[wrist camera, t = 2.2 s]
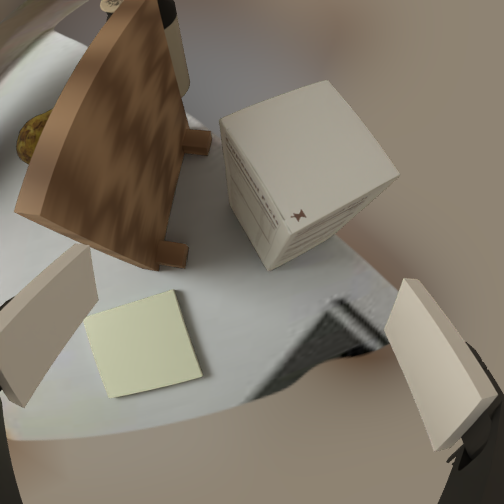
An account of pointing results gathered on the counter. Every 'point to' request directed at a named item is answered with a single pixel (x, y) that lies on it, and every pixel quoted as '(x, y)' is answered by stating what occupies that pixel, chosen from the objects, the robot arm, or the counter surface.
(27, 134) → the potato
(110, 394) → the sticky note pad
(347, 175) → the supplement box
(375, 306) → the counter surface
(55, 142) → the screen
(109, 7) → the travel mug
